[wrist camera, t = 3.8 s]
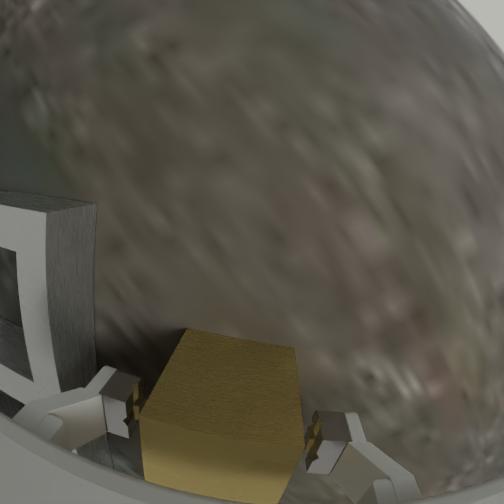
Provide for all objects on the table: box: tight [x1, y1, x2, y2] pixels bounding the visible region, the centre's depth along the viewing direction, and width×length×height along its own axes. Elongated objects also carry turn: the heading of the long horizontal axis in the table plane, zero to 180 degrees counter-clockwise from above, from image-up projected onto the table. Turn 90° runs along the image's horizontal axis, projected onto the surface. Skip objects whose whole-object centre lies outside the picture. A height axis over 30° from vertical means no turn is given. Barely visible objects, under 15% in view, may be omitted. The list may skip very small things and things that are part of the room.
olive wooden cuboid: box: [139, 328, 305, 504], centre depth 9 cm, size 4×4×5 cm
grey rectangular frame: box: [0, 190, 114, 470], centre depth 11 cm, size 8×22×3 cm, turn 170°
